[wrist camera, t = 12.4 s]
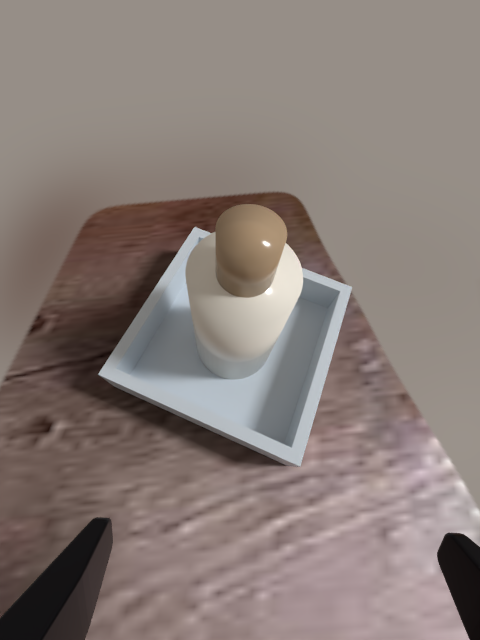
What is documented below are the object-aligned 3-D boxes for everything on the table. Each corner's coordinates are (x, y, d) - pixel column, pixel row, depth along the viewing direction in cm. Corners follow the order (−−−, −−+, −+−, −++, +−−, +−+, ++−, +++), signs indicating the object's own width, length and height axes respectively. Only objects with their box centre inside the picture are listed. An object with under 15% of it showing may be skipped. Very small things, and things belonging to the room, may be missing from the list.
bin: (287, 465, 21) (300, 466, 18) (114, 386, 22) (97, 374, 19) (336, 307, 27) (352, 287, 24) (196, 253, 28) (194, 226, 25)
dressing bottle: (253, 392, 22) (296, 316, 11) (183, 360, 23) (150, 256, 11) (280, 326, 25) (338, 208, 13) (216, 299, 26) (217, 164, 14)
